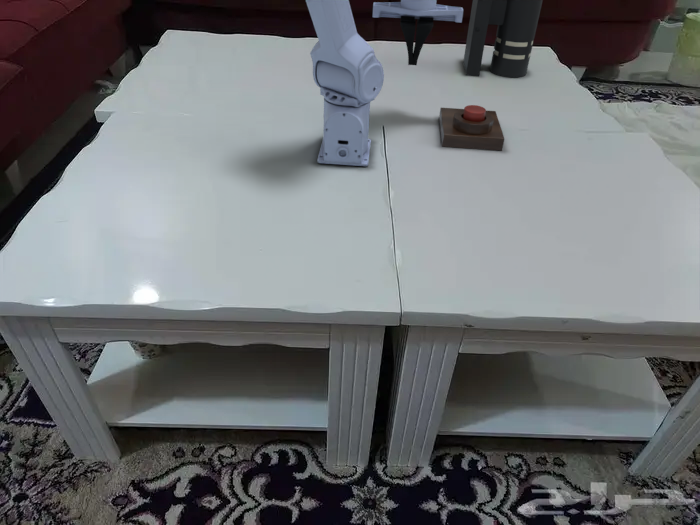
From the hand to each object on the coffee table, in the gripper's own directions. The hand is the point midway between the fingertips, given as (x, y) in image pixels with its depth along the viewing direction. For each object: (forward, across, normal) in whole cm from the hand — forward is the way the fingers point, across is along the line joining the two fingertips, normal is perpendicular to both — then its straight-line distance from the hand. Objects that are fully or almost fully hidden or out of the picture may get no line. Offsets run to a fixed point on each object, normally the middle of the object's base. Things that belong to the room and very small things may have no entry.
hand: (412, 63), depth 98 cm
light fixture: (+11, -20, -32) cm, 39 cm away
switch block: (+10, -11, +4) cm, 16 cm away
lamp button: (+7, -11, +6) cm, 14 cm away
